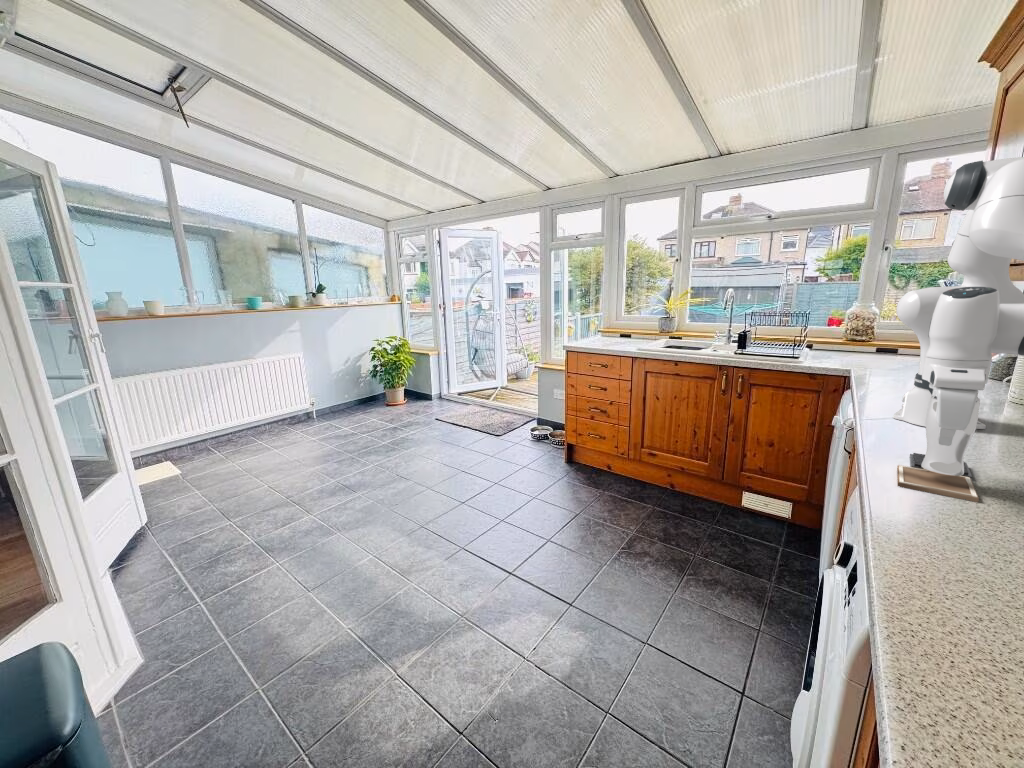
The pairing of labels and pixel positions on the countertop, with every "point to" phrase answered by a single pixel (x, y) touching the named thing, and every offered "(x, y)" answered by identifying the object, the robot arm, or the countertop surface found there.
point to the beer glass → (947, 457)
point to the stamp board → (936, 483)
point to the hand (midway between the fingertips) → (942, 439)
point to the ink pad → (918, 459)
